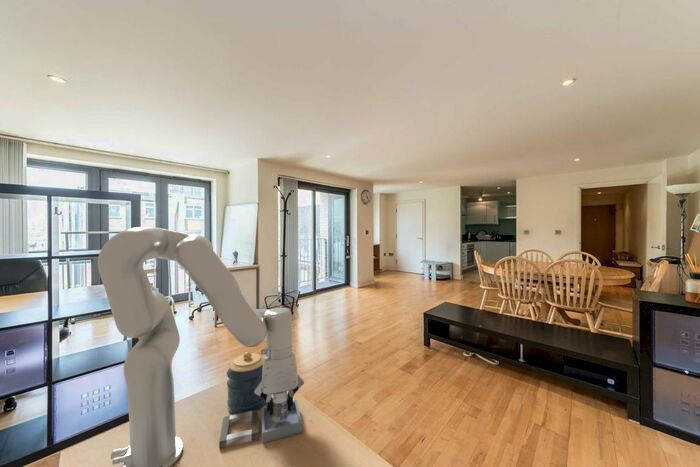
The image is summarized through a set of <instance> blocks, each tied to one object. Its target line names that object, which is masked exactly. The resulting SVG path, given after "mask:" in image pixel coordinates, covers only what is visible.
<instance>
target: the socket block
mask: <svg viewBox="0 0 700 467" xmlns="http://www.w3.org/2000/svg"><path fill="white" fill-rule="evenodd" d="M249 422H251V428H250V429H246V430H243V431H238V432H234V433H230V434H229V432H230V426H231V427H232V426H235V425H236V426H237V425H240V424H243V423H249ZM221 424H222V425H221V429H220V435H219V440H218V442H219V443H218V444H219V446H218V447H219V448H218V449H223V448H224V449H225V448H228V447H232V446H236V445H240V444H244V443H247V442H253V441H257V440H259V410H253V411H249V412H244V413H240V414H230V415H227V416H223V418H222V423H221Z"/></svg>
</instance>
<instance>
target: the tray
mask: <svg viewBox="0 0 700 467" xmlns="http://www.w3.org/2000/svg"><path fill="white" fill-rule="evenodd" d="M260 410H261V413H260V414H261V440H262V441H261V442H262V444H266V443H269V442H273V441H278V440H282V439H284V438H285V439H286V438H289V437H293V436H296V435H301V434H303V422H302V421H303V420H302V418H301V413H300V409H299V404H298V400H297V399H296V400H293V406H291V411H288V417H287V419H286V420H285V421H283V422H274V421H273V420H272V415H270V411H267V406H264V407H262V408H261V409H260Z"/></svg>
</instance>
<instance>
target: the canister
mask: <svg viewBox="0 0 700 467" xmlns="http://www.w3.org/2000/svg"><path fill="white" fill-rule="evenodd" d="M263 360H264V356H263V354H259V353H256V352H251V351H245V352H244V353H243V354H241V355H238V356H237V357H236V358H234V359H233V360H232V361H231V362H230V363H229V366H228V367H229V368H228V369H227V371H226V376H227V377H226V378H228V379H227V381H226V385H227V401H226V403H227V407H228V411H229V412H230V413H231V415H235V414H240V413H244V412H249V411H253V410H258V411H260V410H261V408H262V407H266V405H267V402H266V400H264V399H263V398H262V397H261V396H259V395H257V394H255V393H254V389H255V388H256V386H257V385H258V383H259V382H260V381H261V379H262V368H263ZM261 390H262V388H261Z"/></svg>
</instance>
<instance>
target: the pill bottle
mask: <svg viewBox="0 0 700 467" xmlns="http://www.w3.org/2000/svg"><path fill="white" fill-rule="evenodd" d="M287 394H288V391H284V392H279V393H273V394H272V396H271V397H272V420H273V421H274V422H283V421H285V420H286V419H287V417H288V395H287Z"/></svg>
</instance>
